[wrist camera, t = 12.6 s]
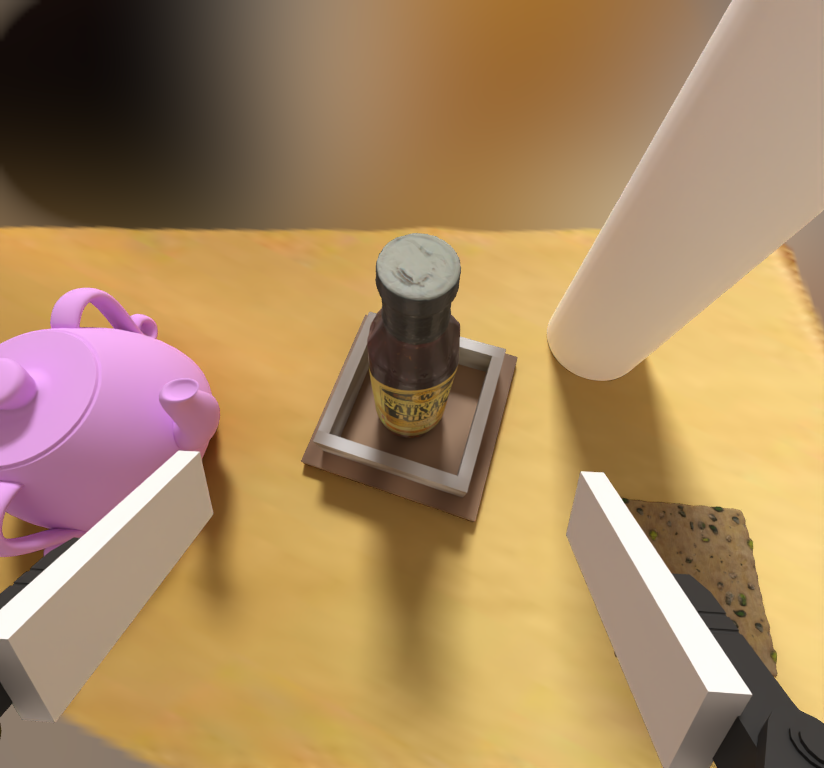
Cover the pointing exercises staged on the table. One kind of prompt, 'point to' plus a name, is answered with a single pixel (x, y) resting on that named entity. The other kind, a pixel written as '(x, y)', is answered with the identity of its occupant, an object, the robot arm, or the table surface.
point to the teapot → (91, 417)
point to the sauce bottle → (414, 333)
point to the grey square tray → (420, 456)
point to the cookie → (712, 561)
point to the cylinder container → (705, 190)
